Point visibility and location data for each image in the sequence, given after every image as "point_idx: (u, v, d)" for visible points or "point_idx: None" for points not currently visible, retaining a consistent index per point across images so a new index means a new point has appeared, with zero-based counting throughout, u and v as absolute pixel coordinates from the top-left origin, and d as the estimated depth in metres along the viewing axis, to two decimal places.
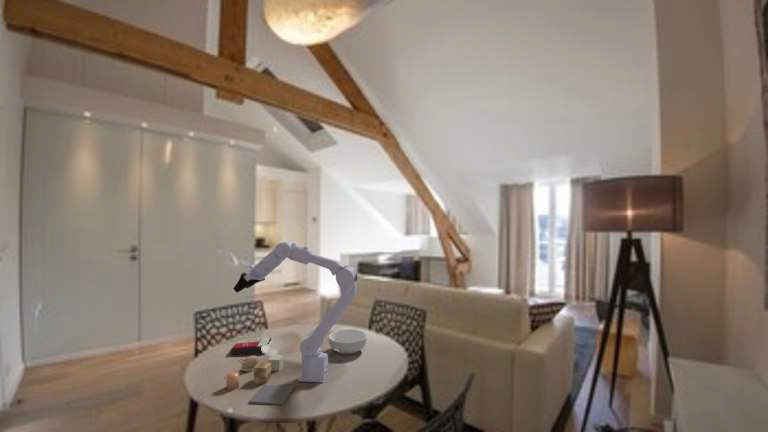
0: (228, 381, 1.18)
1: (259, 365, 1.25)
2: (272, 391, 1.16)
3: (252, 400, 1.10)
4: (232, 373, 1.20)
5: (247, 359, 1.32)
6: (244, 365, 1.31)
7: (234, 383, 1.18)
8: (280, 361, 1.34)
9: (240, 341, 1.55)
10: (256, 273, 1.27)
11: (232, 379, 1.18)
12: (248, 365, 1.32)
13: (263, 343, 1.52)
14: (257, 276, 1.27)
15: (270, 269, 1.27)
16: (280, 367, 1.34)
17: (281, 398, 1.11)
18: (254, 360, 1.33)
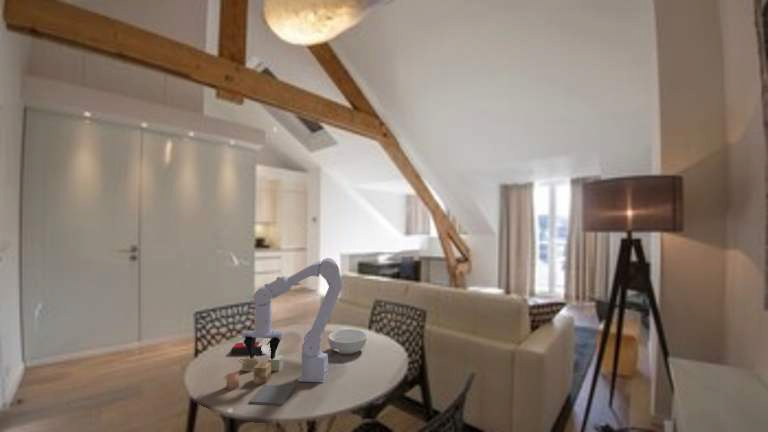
0: (228, 381, 1.18)
1: (259, 365, 1.24)
2: (272, 391, 1.16)
3: (252, 400, 1.10)
4: (232, 373, 1.20)
5: (247, 359, 1.32)
6: (244, 365, 1.32)
7: (234, 383, 1.18)
8: (280, 361, 1.34)
9: (241, 341, 1.56)
10: (270, 331, 1.25)
11: (232, 379, 1.18)
12: (248, 365, 1.32)
13: (263, 343, 1.52)
14: (271, 331, 1.26)
15: (268, 319, 1.24)
16: (280, 367, 1.34)
17: (281, 398, 1.11)
18: (254, 360, 1.33)
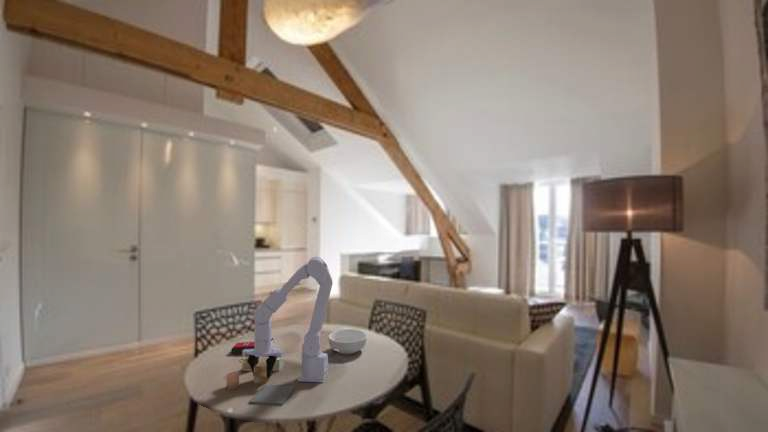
0: (228, 381, 1.18)
1: (259, 365, 1.24)
2: (272, 391, 1.16)
3: (252, 400, 1.10)
4: (232, 373, 1.20)
5: (247, 358, 1.33)
6: (244, 365, 1.32)
7: (234, 383, 1.18)
8: (280, 361, 1.34)
9: (242, 340, 1.56)
10: (270, 349, 1.25)
11: (232, 379, 1.18)
12: (248, 365, 1.32)
13: None
14: (271, 349, 1.26)
15: (268, 338, 1.24)
16: (280, 367, 1.34)
17: (281, 398, 1.11)
18: None
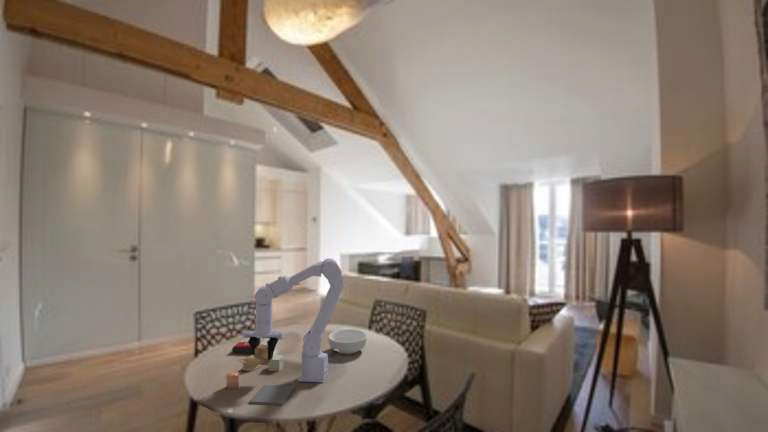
0: (228, 381, 1.18)
1: (260, 347, 1.24)
2: (272, 391, 1.16)
3: (252, 400, 1.10)
4: (232, 373, 1.20)
5: (247, 358, 1.33)
6: (244, 364, 1.32)
7: (234, 383, 1.18)
8: (280, 361, 1.34)
9: (244, 340, 1.57)
10: (271, 331, 1.24)
11: (232, 379, 1.18)
12: (248, 364, 1.32)
13: (264, 343, 1.51)
14: (272, 331, 1.25)
15: (270, 319, 1.23)
16: (280, 367, 1.34)
17: (281, 398, 1.11)
18: None
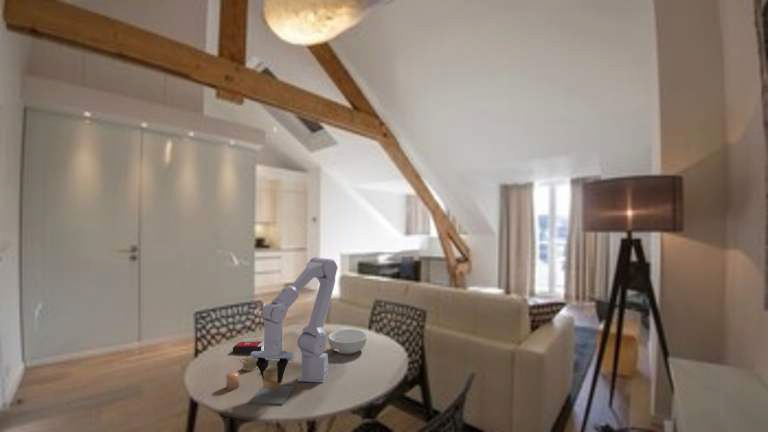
0: (228, 381, 1.18)
1: (269, 369, 1.14)
2: (272, 391, 1.16)
3: (252, 400, 1.10)
4: (232, 373, 1.20)
5: (247, 358, 1.33)
6: (245, 364, 1.32)
7: (234, 383, 1.18)
8: None
9: (245, 339, 1.57)
10: (281, 351, 1.14)
11: (232, 379, 1.18)
12: (249, 364, 1.32)
13: None
14: (282, 351, 1.15)
15: (281, 337, 1.15)
16: None
17: (281, 398, 1.11)
18: (255, 359, 1.34)
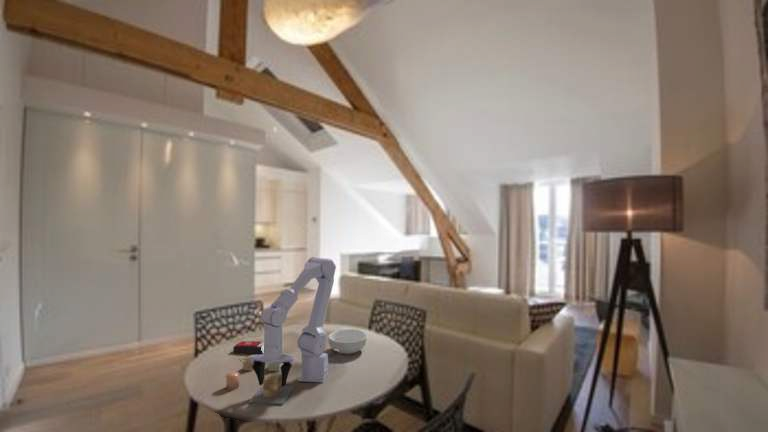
0: (228, 381, 1.18)
1: (269, 377, 1.14)
2: None
3: (252, 400, 1.10)
4: (232, 373, 1.20)
5: (247, 358, 1.33)
6: (245, 364, 1.32)
7: (234, 383, 1.18)
8: None
9: (246, 339, 1.57)
10: (281, 355, 1.14)
11: (232, 379, 1.18)
12: (249, 364, 1.33)
13: None
14: (282, 355, 1.15)
15: (281, 340, 1.15)
16: (280, 367, 1.34)
17: (281, 398, 1.11)
18: None
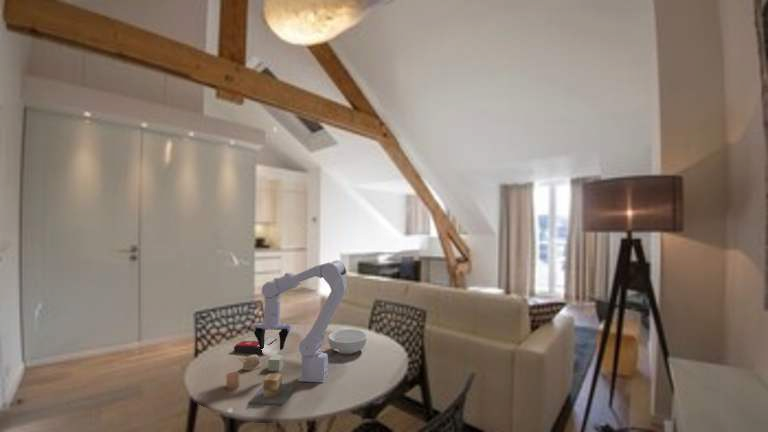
0: (228, 381, 1.18)
1: (269, 377, 1.14)
2: None
3: (252, 400, 1.10)
4: (232, 373, 1.20)
5: (248, 357, 1.33)
6: (245, 364, 1.33)
7: (234, 383, 1.18)
8: (280, 361, 1.34)
9: (248, 339, 1.58)
10: (279, 322, 1.30)
11: (232, 379, 1.18)
12: (249, 364, 1.33)
13: None
14: (280, 323, 1.31)
15: (276, 312, 1.28)
16: (280, 367, 1.34)
17: (281, 398, 1.11)
18: (255, 359, 1.34)
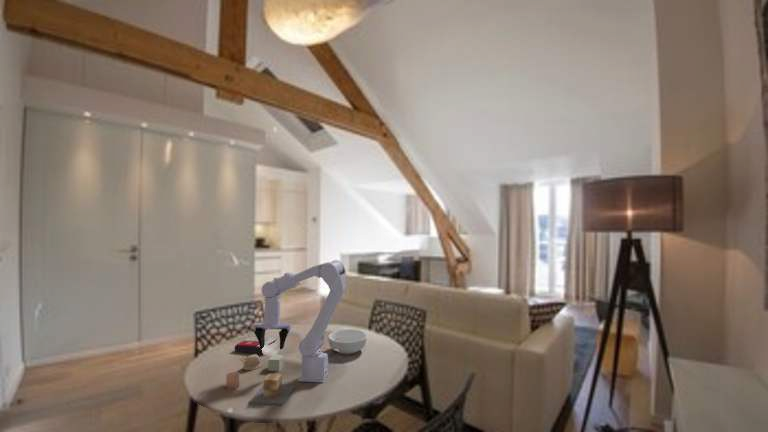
0: (228, 381, 1.18)
1: (269, 377, 1.14)
2: None
3: (252, 400, 1.10)
4: (232, 373, 1.20)
5: (248, 357, 1.33)
6: (245, 363, 1.33)
7: (234, 383, 1.18)
8: (280, 361, 1.34)
9: (249, 339, 1.58)
10: (279, 322, 1.31)
11: (232, 379, 1.18)
12: (249, 364, 1.33)
13: None
14: (280, 323, 1.32)
15: (275, 312, 1.29)
16: (280, 367, 1.34)
17: (281, 398, 1.11)
18: (255, 359, 1.34)
